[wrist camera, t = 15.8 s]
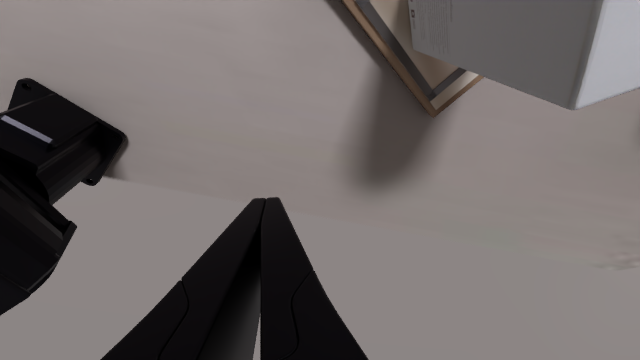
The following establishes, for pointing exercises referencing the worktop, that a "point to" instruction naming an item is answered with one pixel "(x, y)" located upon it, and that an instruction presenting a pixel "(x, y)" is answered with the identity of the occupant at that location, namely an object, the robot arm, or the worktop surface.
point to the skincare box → (537, 44)
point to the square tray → (410, 54)
